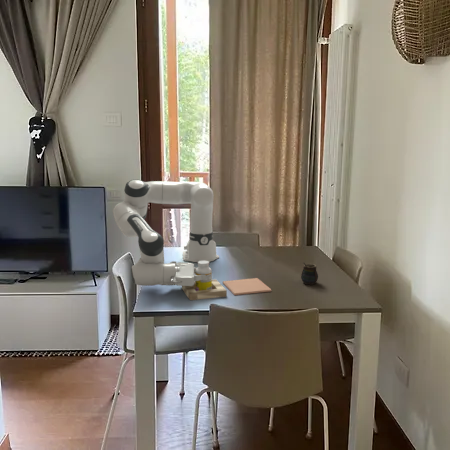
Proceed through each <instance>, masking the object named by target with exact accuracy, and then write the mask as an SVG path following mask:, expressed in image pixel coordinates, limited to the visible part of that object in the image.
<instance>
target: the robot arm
mask: <svg viewBox="0 0 450 450" xmlns="http://www.w3.org/2000/svg"><path fill="white" fill-rule="evenodd" d="M123 192H124V195H123V201H121V202H118V203H117V204H116V205H115V206H114V208H113V209H112V213H113V218H114V221H115V223H116V226H117V227H118V228H119V231H120V232H121V233H122V234H123V235H124V236H125V237H126V238H136V237H137V238H138V241H137V242H138V247H139V253H140V255H139V256H140V258H139V259H138V261H137V262H136V263H135V264H133V265H132V266H131V267H130V272H131V280H132V282H133V284H135V285H138V286H144V287H147V286H148V287H149V286H157V285H160V286H179V287H182V286H193V285H194V281H199V280H205V279H206V275H205V274H201V275H195V270H196V268H198V266H197V267H196V266H195V264H194V263H198V261H209V263H210V262H213V261H215V260H217V259H220V255H218V254H217V243H216V242H215V240H214V232H213V211H214V197H215V196H214V191H213V189H212V188H211V187H210V186H209V185H208V184H207V183H205V182H202V181H165V180H163V181H162V180H161V181H160V180H157V181H156V180H155V181H154V180H151V181H143V180H141V179H131V180H129V181H128V182H126V183H125V187H124V191H123ZM149 203H152V204H159V205H160V204H162V205H183V204H190V215H189V219H190V225H189V226H190V232H189V235H188V236H189V239H188V242H186V245H183V250H184V251H182V259H183V261H186V262H182V261H181V262H179V261H176V260H175V261H174V260H173V261H170V262H168V263H165V250H164V249H165V248H164V246H165V245H164V243H165V240H164V238H163V236H162V235H161V234H160V233H159V232H157V231H155V230H154V229H152V227H151V226H150V225H149V224H148V222H147V221H146V220H145V219H147V215H148V205H149ZM191 262H192V263H191Z"/></svg>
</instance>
